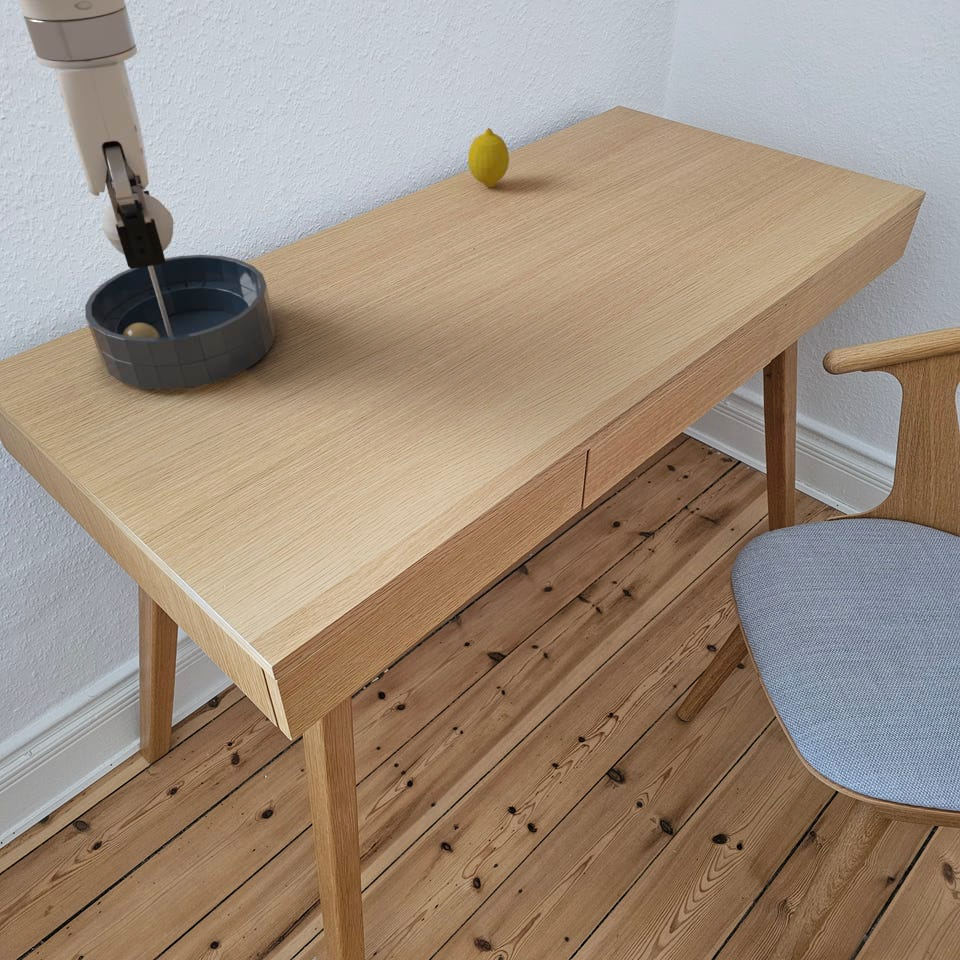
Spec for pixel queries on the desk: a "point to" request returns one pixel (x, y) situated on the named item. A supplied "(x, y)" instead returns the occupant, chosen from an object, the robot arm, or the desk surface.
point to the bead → (141, 331)
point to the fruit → (488, 158)
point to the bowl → (183, 322)
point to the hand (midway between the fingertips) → (144, 247)
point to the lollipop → (164, 231)
